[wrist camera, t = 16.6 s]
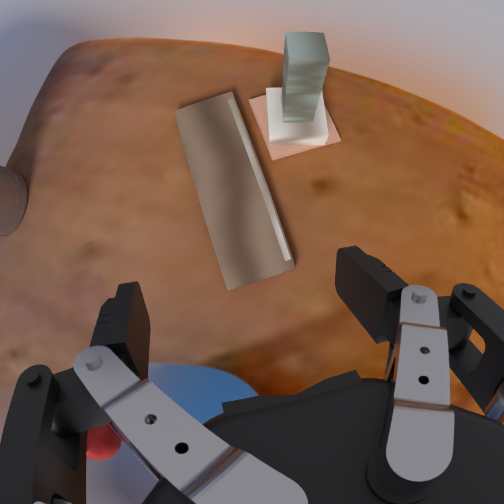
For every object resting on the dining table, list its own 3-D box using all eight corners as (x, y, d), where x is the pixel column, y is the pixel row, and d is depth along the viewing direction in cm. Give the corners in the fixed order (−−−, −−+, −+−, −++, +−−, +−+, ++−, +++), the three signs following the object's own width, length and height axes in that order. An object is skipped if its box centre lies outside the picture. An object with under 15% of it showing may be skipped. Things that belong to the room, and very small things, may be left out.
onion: (117, 451, 30) (89, 482, 23) (83, 420, 31) (49, 445, 23) (139, 426, 31) (110, 458, 23) (102, 394, 31) (67, 418, 23)
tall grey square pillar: (269, 145, 32) (269, 73, 19) (266, 99, 33) (264, 20, 20) (324, 145, 32) (353, 75, 19) (318, 99, 32) (338, 22, 19)
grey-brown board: (229, 290, 32) (227, 290, 31) (175, 115, 33) (173, 111, 32) (295, 268, 31) (296, 268, 30) (232, 95, 33) (231, 91, 32)
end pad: (272, 160, 32) (272, 158, 32) (248, 101, 33) (248, 99, 33) (340, 141, 32) (340, 139, 32) (312, 85, 33) (313, 83, 33)
